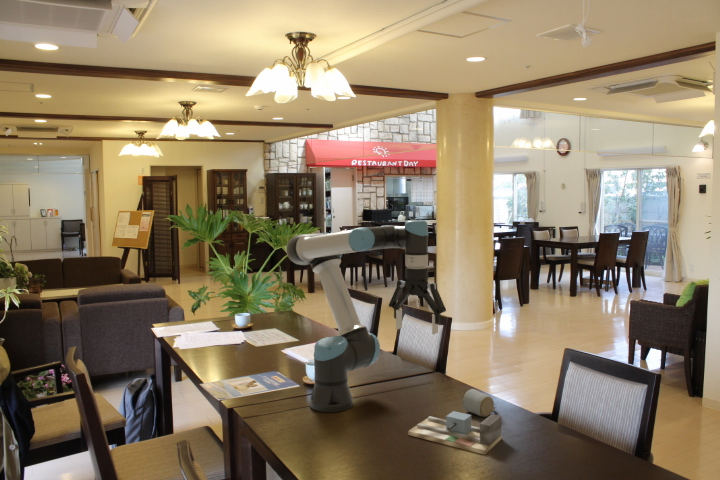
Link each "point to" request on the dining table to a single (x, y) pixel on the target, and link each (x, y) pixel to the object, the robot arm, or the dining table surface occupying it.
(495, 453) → the dining table surface
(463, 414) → the carriage
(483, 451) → the gauge base
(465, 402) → the ceramic mug
